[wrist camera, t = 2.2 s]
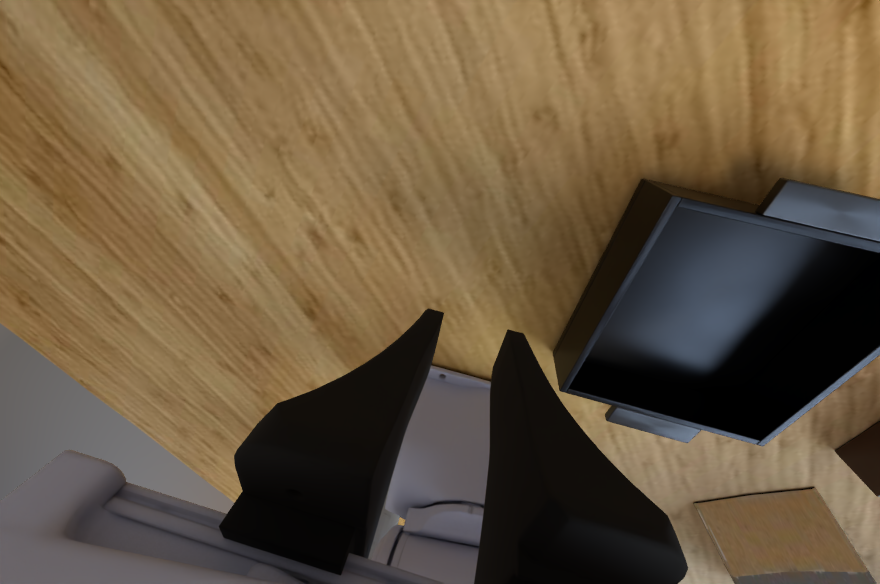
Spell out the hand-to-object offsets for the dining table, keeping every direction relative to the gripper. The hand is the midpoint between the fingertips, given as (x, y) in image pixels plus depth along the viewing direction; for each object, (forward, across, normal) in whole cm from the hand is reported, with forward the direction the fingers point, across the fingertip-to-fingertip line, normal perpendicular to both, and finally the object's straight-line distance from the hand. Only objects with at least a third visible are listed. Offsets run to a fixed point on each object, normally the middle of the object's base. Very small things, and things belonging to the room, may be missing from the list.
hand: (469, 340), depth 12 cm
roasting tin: (+8, -12, 0) cm, 15 cm away
